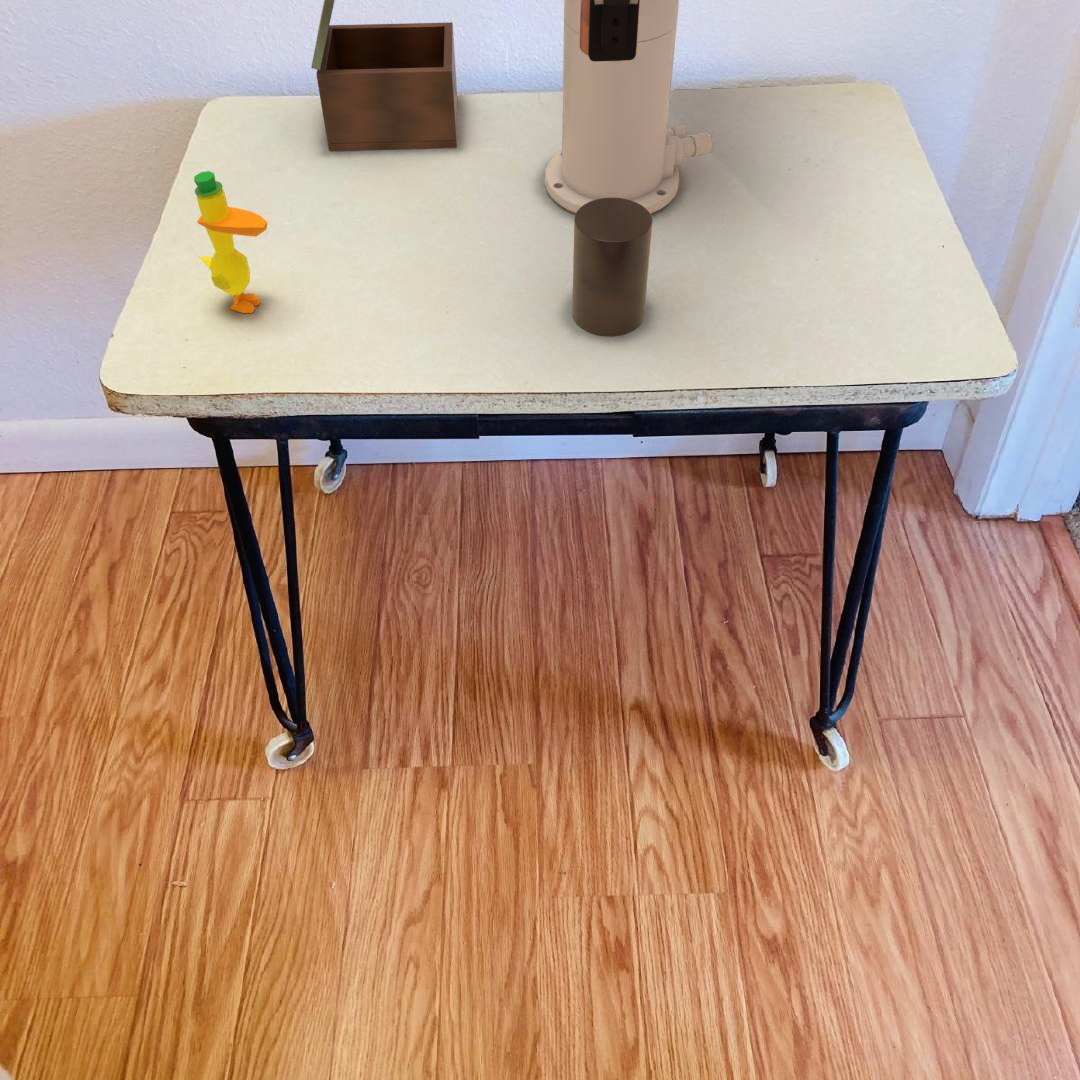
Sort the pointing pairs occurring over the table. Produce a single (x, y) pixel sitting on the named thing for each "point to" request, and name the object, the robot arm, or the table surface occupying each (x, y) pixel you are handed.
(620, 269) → the peg stand
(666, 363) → the table surface
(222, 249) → the toy figure
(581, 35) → the peg
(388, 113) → the brown wooden open box
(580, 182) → the robot arm
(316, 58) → the lid
